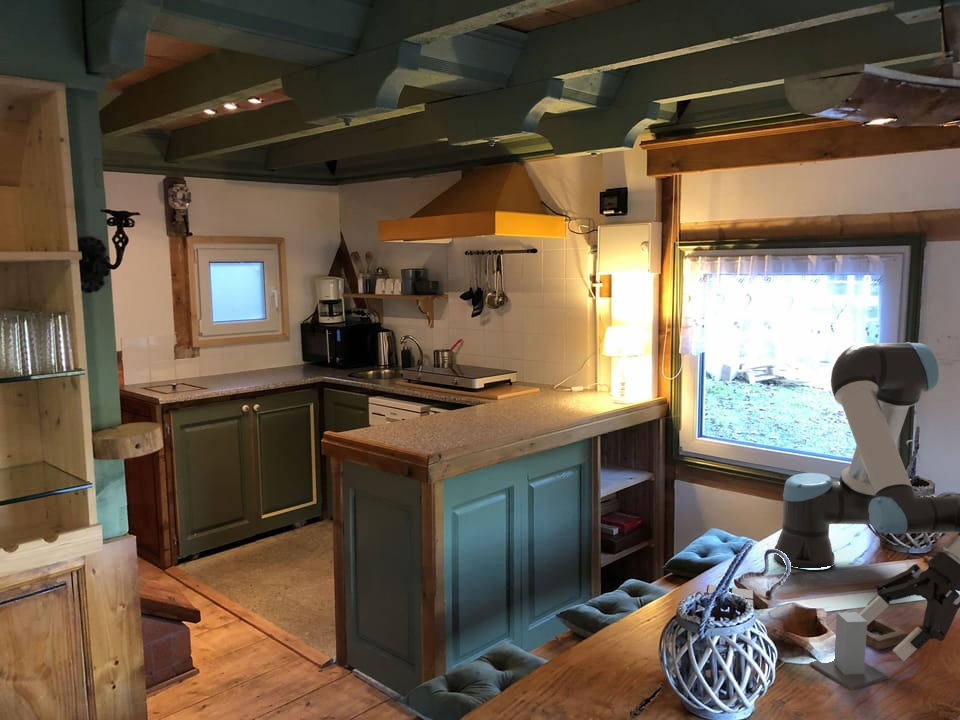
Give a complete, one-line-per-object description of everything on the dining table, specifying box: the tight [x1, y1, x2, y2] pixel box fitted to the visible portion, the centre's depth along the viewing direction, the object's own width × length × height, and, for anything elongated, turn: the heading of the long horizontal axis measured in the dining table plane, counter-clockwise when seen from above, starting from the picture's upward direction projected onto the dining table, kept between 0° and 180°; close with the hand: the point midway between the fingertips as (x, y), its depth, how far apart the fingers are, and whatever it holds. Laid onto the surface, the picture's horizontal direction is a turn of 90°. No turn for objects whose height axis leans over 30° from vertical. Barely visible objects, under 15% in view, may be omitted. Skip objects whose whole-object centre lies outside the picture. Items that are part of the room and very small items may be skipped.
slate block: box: [834, 611, 868, 675], centre depth 155 cm, size 4×4×11 cm
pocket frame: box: [866, 616, 909, 651], centre depth 169 cm, size 9×9×2 cm
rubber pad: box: [809, 660, 889, 691], centre depth 156 cm, size 10×10×1 cm
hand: (878, 638), depth 155 cm, fingers open, 13 cm apart
